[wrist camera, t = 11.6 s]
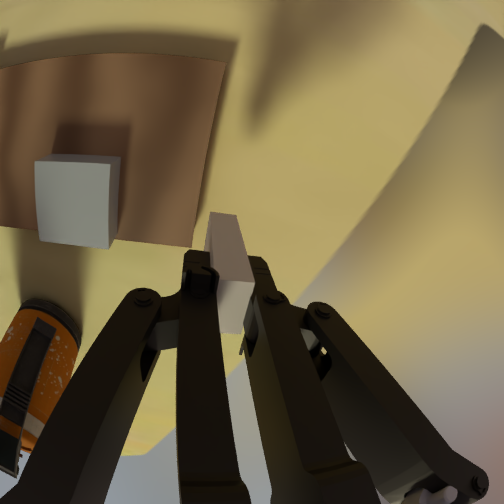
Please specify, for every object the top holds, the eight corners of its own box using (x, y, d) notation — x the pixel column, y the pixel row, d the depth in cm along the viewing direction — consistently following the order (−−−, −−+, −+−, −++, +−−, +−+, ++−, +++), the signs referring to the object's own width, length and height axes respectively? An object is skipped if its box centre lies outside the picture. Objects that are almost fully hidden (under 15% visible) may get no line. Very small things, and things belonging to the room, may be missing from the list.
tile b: (53, 226, 18) (39, 240, 16) (51, 154, 15) (34, 161, 13) (117, 233, 20) (108, 249, 18) (121, 156, 17) (110, 164, 15)
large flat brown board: (-9, 212, 18) (-22, 223, 16) (-6, 74, 12) (-21, 75, 9) (192, 233, 24) (191, 247, 21) (223, 67, 17) (226, 62, 15)
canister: (18, 325, 25) (-30, 455, 8) (31, 268, 22) (-53, 431, 5) (73, 358, 29) (46, 495, 12) (97, 311, 26) (57, 493, 9)
